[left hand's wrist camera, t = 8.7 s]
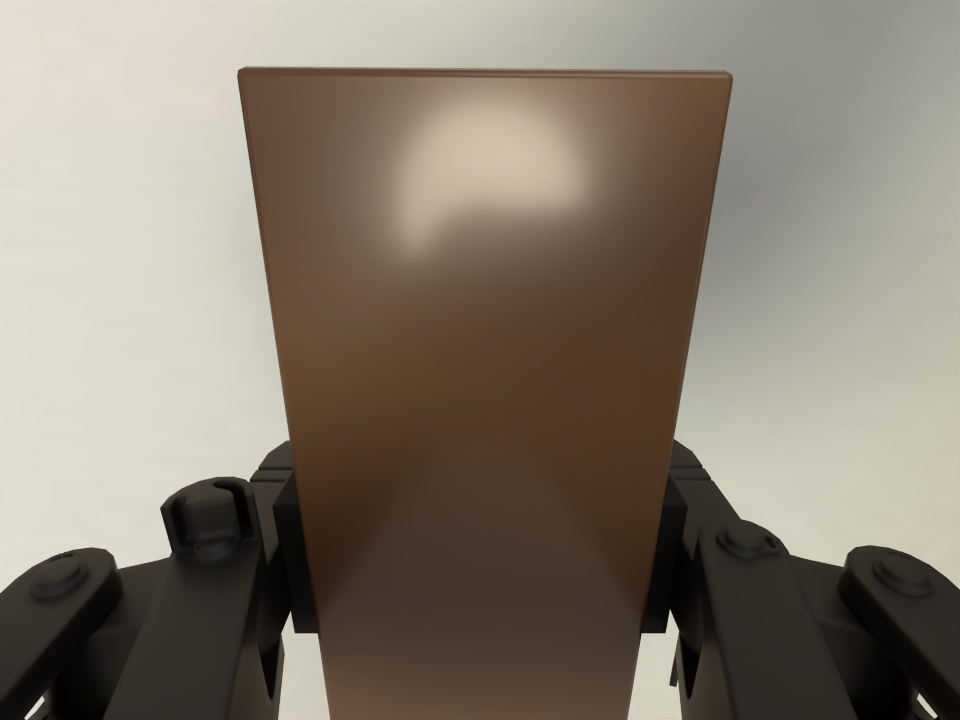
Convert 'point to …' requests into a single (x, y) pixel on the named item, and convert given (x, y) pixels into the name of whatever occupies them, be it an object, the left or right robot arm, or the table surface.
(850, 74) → the table surface
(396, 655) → the post
